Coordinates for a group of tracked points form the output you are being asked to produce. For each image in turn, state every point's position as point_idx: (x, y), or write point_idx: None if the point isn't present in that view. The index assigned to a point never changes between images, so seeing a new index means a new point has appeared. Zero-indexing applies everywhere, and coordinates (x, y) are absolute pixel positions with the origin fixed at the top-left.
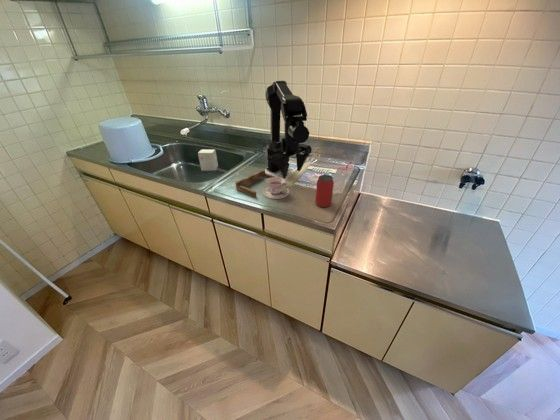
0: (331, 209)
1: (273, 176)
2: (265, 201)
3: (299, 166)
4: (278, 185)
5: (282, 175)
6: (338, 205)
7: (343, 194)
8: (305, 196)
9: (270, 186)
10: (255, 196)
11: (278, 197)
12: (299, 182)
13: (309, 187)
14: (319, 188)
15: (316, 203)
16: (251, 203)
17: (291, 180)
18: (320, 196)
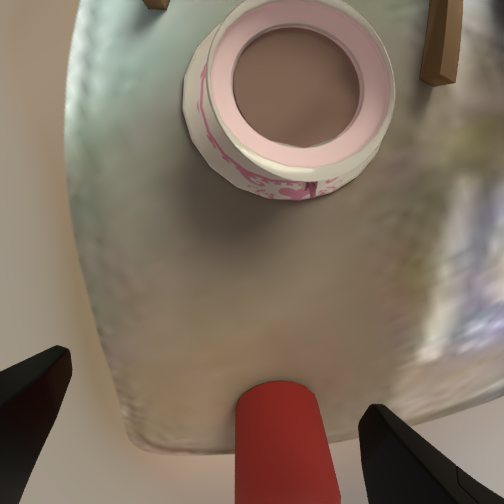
0: None
1: (455, 17)
2: (133, 97)
3: (376, 473)
4: (238, 145)
5: (31, 362)
6: None
7: None
8: (321, 309)
9: (231, 61)
10: (155, 6)
11: (226, 149)
12: (478, 201)
13: (435, 283)
14: (237, 484)
15: (245, 395)
16: (78, 42)
17: (486, 141)
18: (235, 450)
